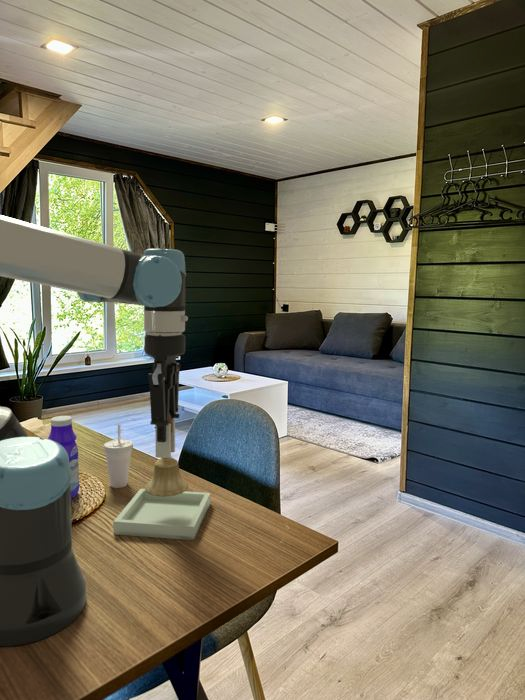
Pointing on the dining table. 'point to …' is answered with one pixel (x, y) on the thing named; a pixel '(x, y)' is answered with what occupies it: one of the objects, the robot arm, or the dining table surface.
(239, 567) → the dining table surface
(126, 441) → the smoothie
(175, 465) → the hand bell
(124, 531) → the tray
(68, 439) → the bottle
